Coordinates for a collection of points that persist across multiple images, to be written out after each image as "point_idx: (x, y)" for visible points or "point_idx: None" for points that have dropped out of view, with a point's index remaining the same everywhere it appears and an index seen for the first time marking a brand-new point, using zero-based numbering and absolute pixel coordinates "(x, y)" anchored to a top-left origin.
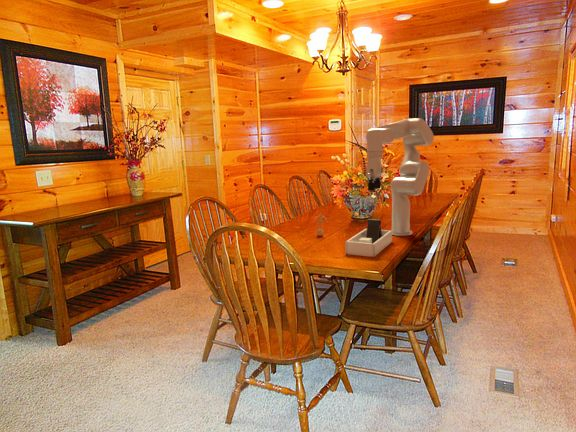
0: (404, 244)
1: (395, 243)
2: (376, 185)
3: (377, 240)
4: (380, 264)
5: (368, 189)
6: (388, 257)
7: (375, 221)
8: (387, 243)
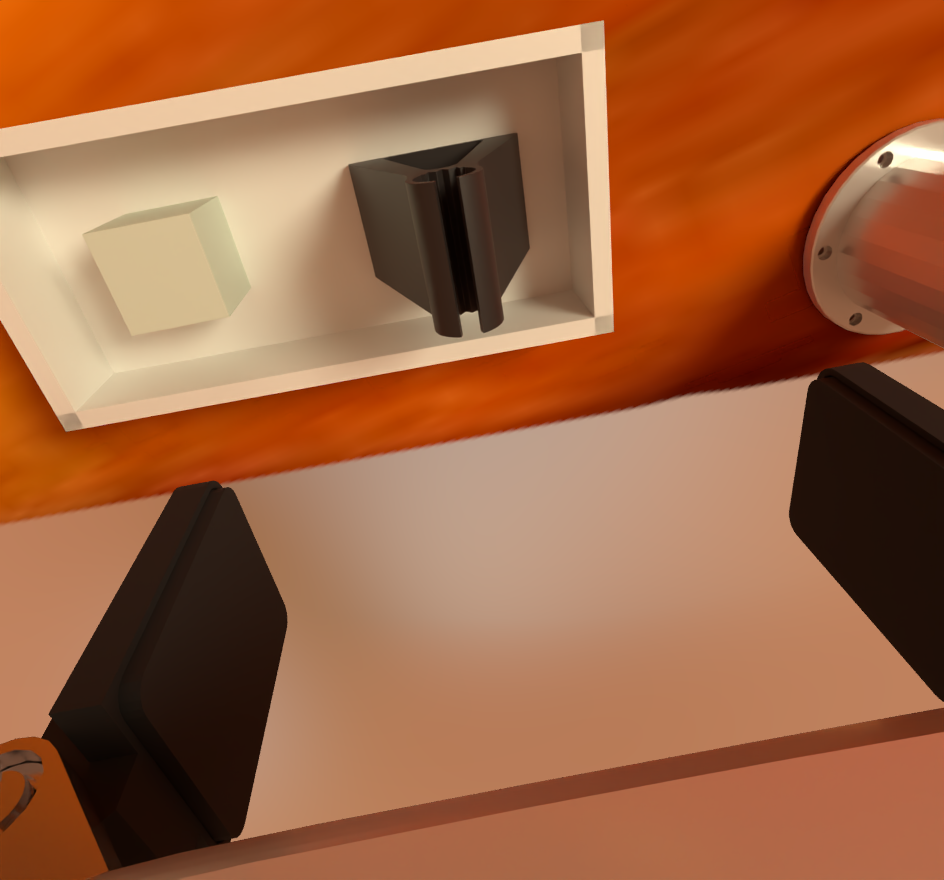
0: (553, 404)
1: None
2: (849, 485)
3: (195, 394)
4: (8, 486)
5: (174, 512)
6: (180, 458)
7: (429, 289)
8: None
